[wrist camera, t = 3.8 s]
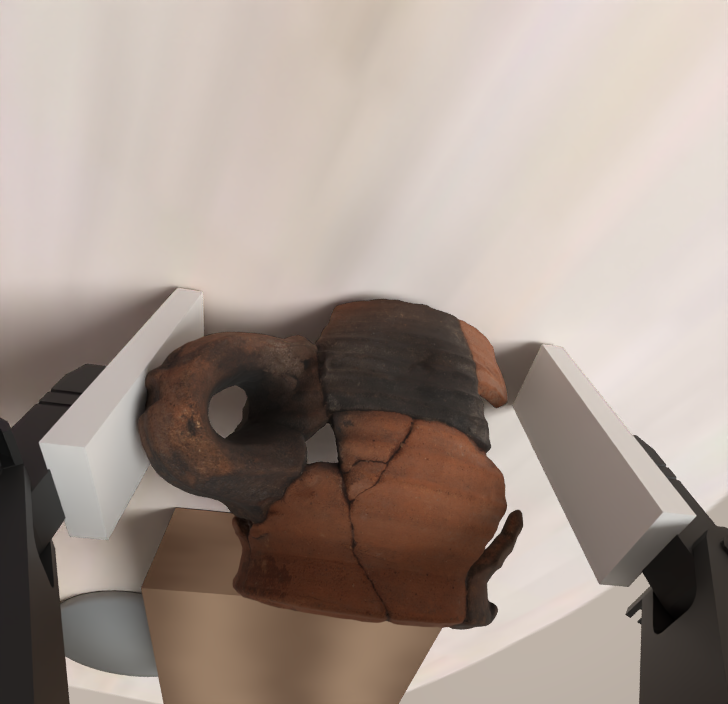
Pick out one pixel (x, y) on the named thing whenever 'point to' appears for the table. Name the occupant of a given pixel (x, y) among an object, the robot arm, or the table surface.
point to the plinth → (260, 633)
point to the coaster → (109, 633)
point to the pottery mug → (347, 462)
